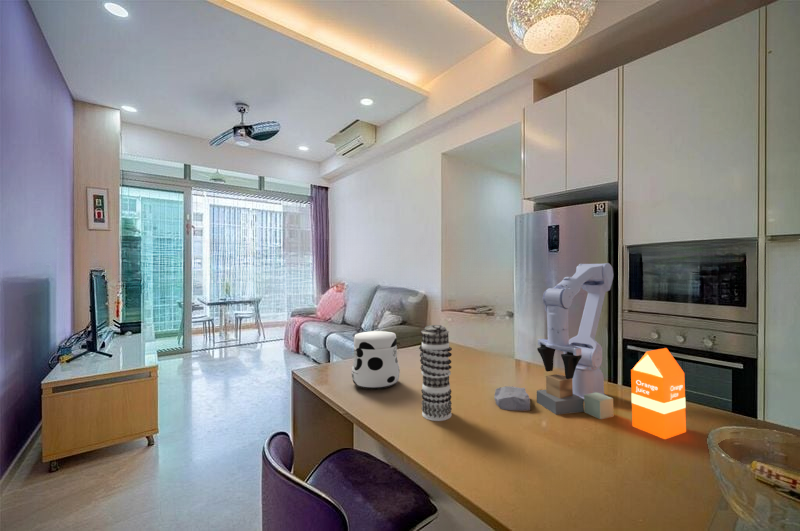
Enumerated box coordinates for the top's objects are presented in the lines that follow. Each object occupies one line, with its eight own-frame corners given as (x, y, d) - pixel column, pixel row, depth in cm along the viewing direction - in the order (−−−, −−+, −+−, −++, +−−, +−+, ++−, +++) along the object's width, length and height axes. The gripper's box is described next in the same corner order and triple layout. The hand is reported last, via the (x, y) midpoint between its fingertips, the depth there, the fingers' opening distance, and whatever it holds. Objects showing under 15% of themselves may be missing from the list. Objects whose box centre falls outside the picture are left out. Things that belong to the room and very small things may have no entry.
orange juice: (631, 426, 87) (629, 348, 87) (652, 419, 90) (650, 344, 91) (665, 439, 80) (663, 355, 80) (687, 432, 83) (684, 351, 83)
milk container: (408, 381, 124) (407, 332, 124) (381, 397, 110) (380, 341, 110) (371, 374, 133) (370, 329, 134) (341, 387, 119) (340, 336, 119)
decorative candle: (440, 425, 89) (438, 330, 89) (413, 415, 95) (412, 326, 96) (459, 413, 96) (457, 325, 96) (433, 405, 102) (431, 322, 102)
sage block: (597, 409, 97) (596, 392, 97) (613, 416, 93) (613, 398, 93) (584, 412, 96) (584, 394, 96) (600, 419, 91) (599, 401, 91)
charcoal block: (562, 400, 105) (562, 388, 105) (583, 412, 96) (583, 398, 96) (536, 403, 103) (536, 390, 103) (555, 415, 94) (555, 401, 94)
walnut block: (558, 390, 103) (558, 373, 103) (572, 395, 98) (572, 378, 98) (546, 392, 101) (546, 375, 101) (559, 398, 97) (559, 380, 97)
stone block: (498, 416, 98) (534, 411, 96) (495, 399, 99) (529, 394, 97) (495, 402, 110) (526, 397, 108) (491, 387, 110) (522, 382, 109)
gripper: (529, 325, 105) (530, 369, 105) (567, 333, 92) (568, 383, 92) (547, 324, 108) (548, 366, 108) (586, 331, 94) (587, 380, 94)
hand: (558, 374), depth 100 cm, fingers open, 7 cm apart
